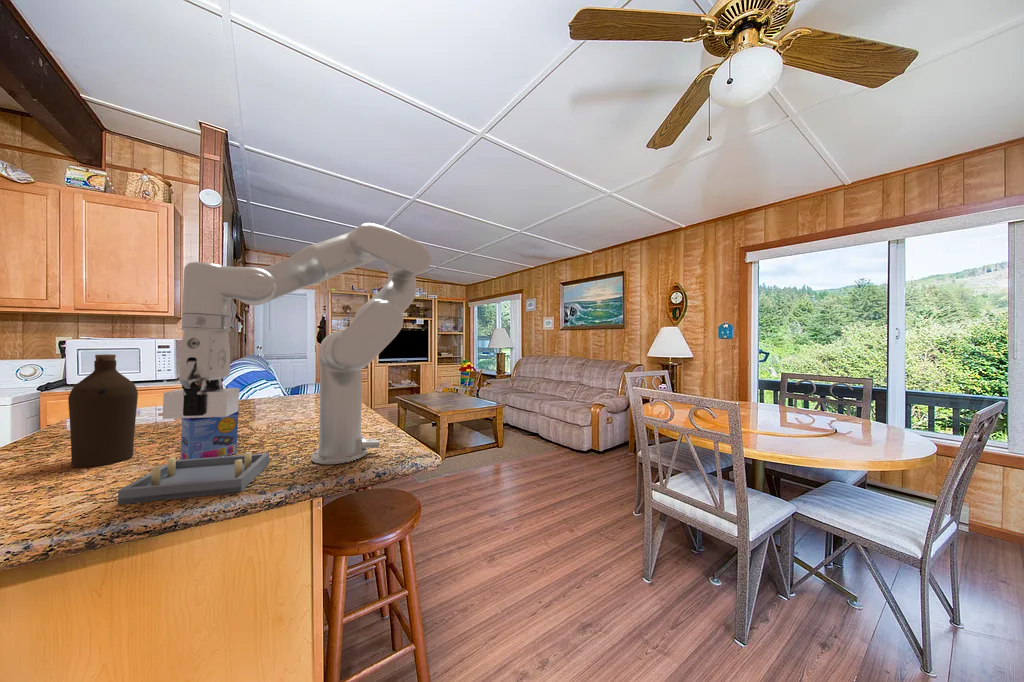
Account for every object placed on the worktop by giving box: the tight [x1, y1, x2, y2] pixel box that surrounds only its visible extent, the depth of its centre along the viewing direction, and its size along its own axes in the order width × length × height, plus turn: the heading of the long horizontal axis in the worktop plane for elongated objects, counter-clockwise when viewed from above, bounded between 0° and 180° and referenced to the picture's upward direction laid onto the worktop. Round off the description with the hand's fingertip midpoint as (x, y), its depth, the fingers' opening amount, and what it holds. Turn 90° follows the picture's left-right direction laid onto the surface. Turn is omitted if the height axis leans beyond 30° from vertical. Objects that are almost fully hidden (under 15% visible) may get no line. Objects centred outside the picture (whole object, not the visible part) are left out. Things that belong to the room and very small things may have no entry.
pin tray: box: [117, 451, 270, 506], centre depth 71 cm, size 18×16×4 cm
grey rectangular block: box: [162, 387, 240, 420], centre depth 71 cm, size 10×6×5 cm, turn 110°
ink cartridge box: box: [180, 406, 240, 460], centre depth 85 cm, size 10×6×14 cm, turn 152°
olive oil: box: [67, 353, 139, 468], centre depth 82 cm, size 11×11×25 cm
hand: (202, 411), depth 71 cm, fingers closed on grey rectangular block, 6 cm apart
